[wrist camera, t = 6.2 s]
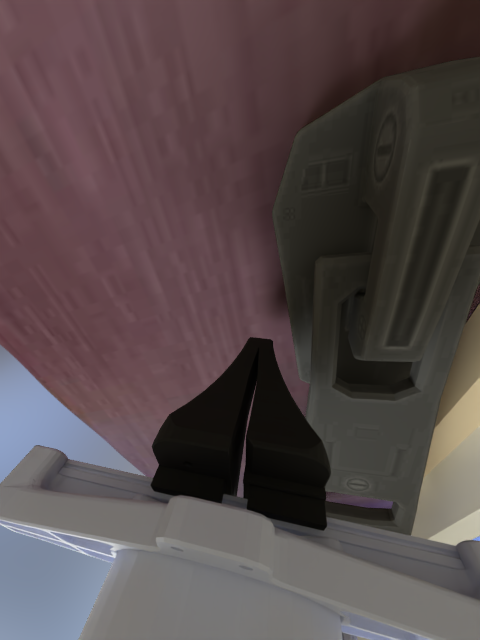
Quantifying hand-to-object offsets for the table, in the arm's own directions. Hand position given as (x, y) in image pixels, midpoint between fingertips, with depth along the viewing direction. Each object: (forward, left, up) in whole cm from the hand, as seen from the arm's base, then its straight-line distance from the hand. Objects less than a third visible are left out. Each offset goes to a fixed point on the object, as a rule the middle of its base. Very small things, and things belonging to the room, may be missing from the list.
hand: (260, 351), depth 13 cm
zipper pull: (-1, -6, -3) cm, 7 cm away
